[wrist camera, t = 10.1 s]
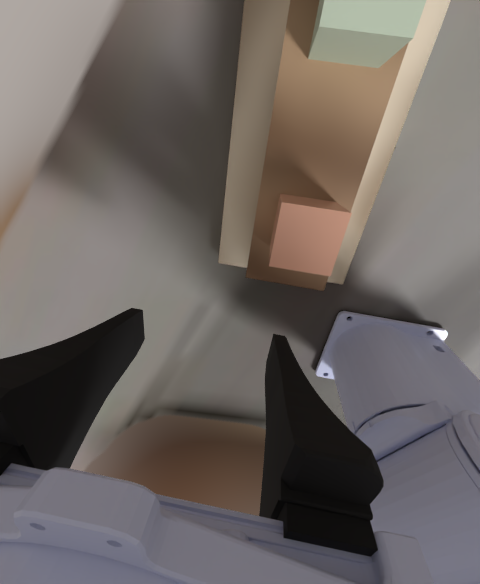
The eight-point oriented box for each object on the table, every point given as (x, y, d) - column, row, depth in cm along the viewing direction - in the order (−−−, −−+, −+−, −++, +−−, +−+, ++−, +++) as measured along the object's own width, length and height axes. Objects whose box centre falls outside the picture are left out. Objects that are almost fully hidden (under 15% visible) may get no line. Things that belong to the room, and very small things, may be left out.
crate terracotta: (336, 202, 13) (352, 213, 11) (320, 255, 15) (330, 276, 12) (280, 193, 13) (281, 202, 11) (269, 247, 15) (268, 266, 12)
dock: (458, -53, 12) (480, -79, 11) (338, 276, 21) (342, 284, 20) (256, -76, 13) (254, -104, 11) (221, 256, 21) (218, 262, 20)
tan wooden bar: (303, -65, 12) (316, -161, 8) (411, -52, 11) (472, -145, 8) (250, 255, 19) (245, 277, 16) (314, 266, 19) (323, 291, 16)
